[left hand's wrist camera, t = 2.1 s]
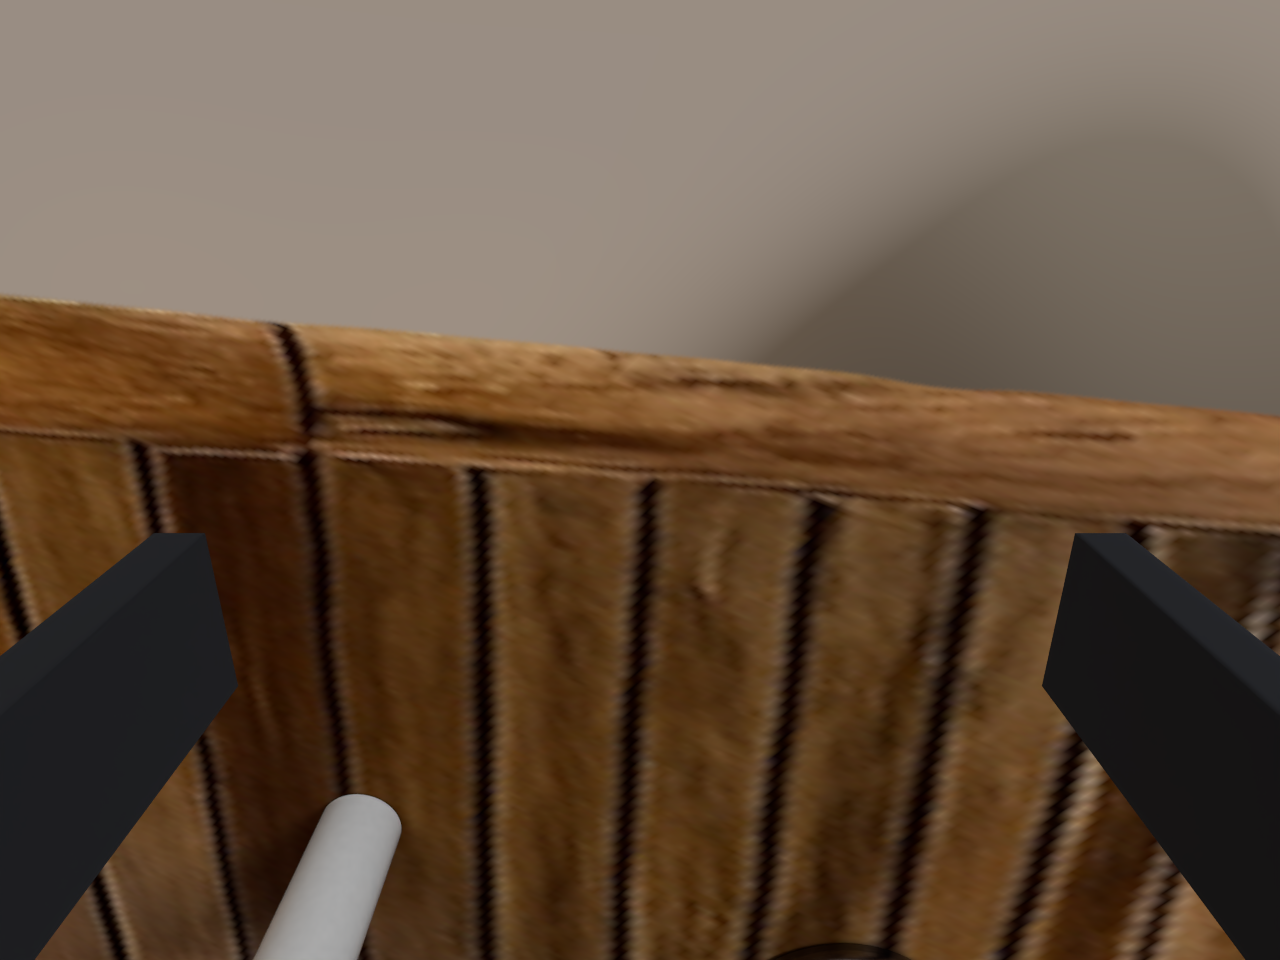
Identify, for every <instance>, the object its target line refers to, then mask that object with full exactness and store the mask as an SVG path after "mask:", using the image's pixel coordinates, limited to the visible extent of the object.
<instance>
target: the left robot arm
mask: <svg viewBox="0 0 1280 960" xmlns="http://www.w3.org/2000/svg"><path fill="white" fill-rule="evenodd" d="M237 687H238V684H237V679H236V675H235V670H234V666H233V661H232V656H231V652H230V647H229V642H228V638H227V633H226V629H225V624H224V619H223V615H222V610H221V606H220V601H219V596H218V592H217V587H216V582H215V578H214V573H213V569H212V564H211V559H210V555H209V550H208V546H207V541H206V536H205V533H154V534H153V535H151V536H150V537H149V538H148V539H146V540H145V541H144V542H143V543H141V544H140V545H139V546H138V547H136V548H135V549H134V550H133V551H131V552H130V553H129V554H128V555H126V556H125V557H124V558H123V559H121V560H120V561H119V562H118V563H116V564H115V565H114V566H113V567H111V568H110V569H109V570H108V571H106V572H105V573H104V574H103V575H101V576H100V577H99V578H98V579H96V580H95V581H94V582H93V583H91V584H90V585H89V586H88V587H86V588H85V589H84V590H83V591H81V592H80V593H79V594H78V595H76V596H75V597H74V598H73V599H71V600H70V601H69V602H68V603H66V604H65V605H64V606H63V607H61V608H60V609H59V610H58V611H56V612H55V613H54V614H53V615H51V616H50V617H49V618H48V619H46V620H45V621H44V622H43V623H41V624H40V625H39V626H37V627H36V628H35V629H34V630H32V631H31V632H30V633H29V634H27V635H26V636H25V637H24V638H22V639H21V640H20V641H19V642H17V643H16V644H15V645H14V646H12V647H11V648H10V649H9V650H7V651H6V652H5V653H4V654H2V655H1V656H0V960H35V958H36V957H37V956H38V954H39V953H40V952H41V950H42V949H43V948H44V946H45V945H46V944H47V942H48V941H49V939H50V938H51V937H52V935H53V934H54V933H55V931H56V930H57V929H58V927H59V926H60V925H61V923H62V922H63V921H64V919H65V918H66V917H67V915H68V914H69V913H70V911H71V910H72V909H73V907H74V906H75V904H76V903H77V902H78V900H79V899H80V898H81V896H82V895H83V894H84V892H85V891H86V890H87V888H88V887H89V886H90V884H91V883H92V882H93V880H94V879H95V878H96V876H97V875H98V874H99V872H100V871H101V870H102V868H103V867H104V865H105V864H106V863H107V861H108V860H109V859H110V857H111V856H112V855H113V853H114V852H115V851H116V849H117V848H118V847H119V845H120V844H121V843H122V841H123V840H124V839H125V837H126V836H127V835H128V833H129V832H130V830H131V829H132V828H133V826H134V825H135V824H136V822H137V821H138V820H139V818H140V817H141V816H142V814H143V813H144V812H145V810H146V809H147V808H148V806H149V805H150V804H151V802H152V801H153V800H154V798H155V797H156V796H157V794H158V793H159V791H160V790H161V789H162V787H163V786H164V785H165V783H166V782H167V781H168V779H169V778H170V777H171V775H172V774H173V773H174V771H175V770H176V769H177V767H178V766H179V765H180V763H181V762H182V761H183V759H184V758H185V756H186V755H187V754H188V752H189V751H190V750H191V748H192V747H193V746H194V744H195V743H196V742H197V740H198V739H199V738H200V736H201V735H202V734H203V732H204V731H205V730H206V728H207V727H208V726H209V724H210V723H211V721H212V720H213V719H214V717H215V716H216V715H217V713H218V712H219V711H220V709H221V708H222V707H223V705H224V704H225V703H226V701H227V700H228V699H229V697H230V696H231V695H232V693H233V692H234V691H235V689H236V688H237ZM1042 687H1043V688H1044V689H1045V691H1046V692H1047V693H1048V695H1049V696H1050V697H1051V699H1052V700H1053V701H1054V703H1055V704H1056V705H1057V707H1058V708H1059V709H1060V711H1061V712H1062V713H1063V715H1064V716H1065V717H1066V719H1067V720H1068V721H1069V723H1070V724H1071V726H1072V727H1073V728H1074V730H1075V731H1076V732H1077V734H1078V735H1079V736H1080V738H1081V739H1082V740H1083V742H1084V743H1085V744H1086V746H1087V747H1088V748H1089V750H1090V751H1091V752H1092V754H1093V755H1094V756H1095V758H1096V759H1097V761H1098V762H1099V763H1100V765H1101V766H1102V767H1103V769H1104V770H1105V771H1106V773H1107V774H1108V775H1109V777H1110V778H1111V779H1112V781H1113V782H1114V783H1115V785H1116V786H1117V787H1118V789H1119V790H1120V791H1121V793H1122V794H1123V796H1124V797H1125V798H1126V800H1127V801H1128V802H1129V804H1130V805H1131V806H1132V808H1133V809H1134V810H1135V812H1136V813H1137V814H1138V816H1139V817H1140V818H1141V820H1142V821H1143V822H1144V824H1145V825H1146V826H1147V828H1148V829H1149V830H1150V832H1151V833H1152V835H1153V836H1154V837H1155V839H1156V840H1157V841H1158V843H1159V844H1160V845H1161V847H1162V848H1163V849H1164V851H1165V852H1166V853H1167V855H1168V856H1169V857H1170V859H1171V860H1172V861H1173V863H1174V864H1175V865H1176V867H1177V868H1178V870H1179V871H1180V872H1181V874H1182V875H1183V876H1184V878H1185V879H1186V880H1187V882H1188V883H1189V884H1190V886H1191V887H1192V888H1193V890H1194V891H1195V892H1196V894H1197V895H1198V896H1199V898H1200V899H1201V900H1202V902H1203V903H1204V904H1205V906H1206V907H1207V909H1208V910H1209V911H1210V913H1211V914H1212V915H1213V917H1214V918H1215V919H1216V921H1217V922H1218V923H1219V925H1220V926H1221V927H1222V929H1223V930H1224V931H1225V933H1226V934H1227V935H1228V937H1229V938H1230V939H1231V941H1232V942H1233V944H1234V945H1235V946H1236V948H1237V949H1238V950H1239V952H1240V953H1241V954H1242V956H1243V957H1244V958H1245V960H1280V656H1279V655H1278V654H1276V653H1275V652H1274V651H1273V650H1271V649H1270V648H1269V647H1268V646H1266V645H1265V644H1264V643H1263V642H1261V641H1260V640H1259V639H1258V638H1256V637H1255V636H1254V635H1253V634H1251V633H1250V632H1249V631H1248V630H1246V629H1245V628H1244V627H1243V626H1241V625H1240V624H1239V623H1237V622H1236V621H1235V620H1234V619H1232V618H1231V617H1230V616H1229V615H1227V614H1226V613H1225V612H1224V611H1222V610H1221V609H1220V608H1219V607H1217V606H1216V605H1215V604H1214V603H1212V602H1211V601H1210V600H1209V599H1207V598H1206V597H1205V596H1204V595H1202V594H1201V593H1200V592H1199V591H1197V590H1196V589H1195V588H1194V587H1192V586H1191V585H1190V584H1189V583H1187V582H1186V581H1185V580H1184V579H1182V578H1181V577H1180V576H1179V575H1177V574H1176V573H1175V572H1174V571H1172V570H1171V569H1170V568H1169V567H1167V566H1166V565H1165V564H1164V563H1162V562H1161V561H1160V560H1159V559H1157V558H1156V557H1155V556H1154V555H1152V554H1151V553H1150V552H1149V551H1147V550H1146V549H1145V548H1144V547H1142V546H1141V545H1140V544H1139V543H1137V542H1136V541H1135V540H1134V539H1132V538H1131V537H1130V536H1129V535H1127V534H1126V533H1075V536H1074V541H1073V546H1072V550H1071V555H1070V559H1069V564H1068V569H1067V573H1066V578H1065V582H1064V587H1063V592H1062V596H1061V601H1060V606H1059V610H1058V615H1057V619H1056V624H1055V629H1054V633H1053V638H1052V642H1051V647H1050V652H1049V656H1048V661H1047V666H1046V670H1045V675H1044V679H1043V684H1042ZM775 960H910V959H909V958H907V957H904V956H902V955H900V954H898V953H895V952H892V951H889V950H886V949H882V948H879V947H873V946H868V945H859V944H830V945H821V946H816V947H810V948H806V949H802V950H798V951H795V952H792V953H789V954H787V955H784V956H782V957H779V958H777V959H775Z"/></svg>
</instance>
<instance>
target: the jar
mask: <svg viewBox="0 0 1280 960" xmlns="http://www.w3.org/2000/svg"><path fill="white" fill-rule="evenodd" d="M400 836H401V822H400V819H399V817H398V815H397V814H396V812H395V811H394V810H393V809H392V808H391V807H390V806H389V805H388V804H386V803H385V802H383V801H382V800H380V799H377V798H375V797H372V796H368V795H362V794H351V795H345V796H342V797H339V798H337V799H335V800H334V801H332V802H331V803H330V804H329V805H328V806H327V807H326V808H325V810H324V811H323V813H322V815H321V817H320V820H319V822H318V824H317V826H316V828H315V830H314V832H313V834H312V836H311V839H310V841H309V843H308V845H307V847H306V849H305V851H304V853H303V855H302V857H301V860H300V862H299V864H298V866H297V868H296V870H295V872H294V874H293V876H292V879H291V881H290V883H289V885H288V887H287V889H286V891H285V893H284V895H283V897H282V900H281V902H280V904H279V906H278V908H277V910H276V912H275V914H274V916H273V919H272V921H271V923H270V925H269V927H268V929H267V931H266V933H265V935H264V937H263V940H262V942H261V944H260V946H259V948H258V950H257V952H256V954H255V956H254V959H253V960H358V957H359V954H360V951H361V948H362V945H363V942H364V940H365V937H366V934H367V931H368V928H369V925H370V922H371V919H372V917H373V914H374V911H375V908H376V905H377V902H378V899H379V896H380V893H381V891H382V888H383V885H384V882H385V879H386V876H387V873H388V870H389V867H390V865H391V862H392V859H393V856H394V853H395V850H396V847H397V844H398V842H399V839H400Z"/></svg>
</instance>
